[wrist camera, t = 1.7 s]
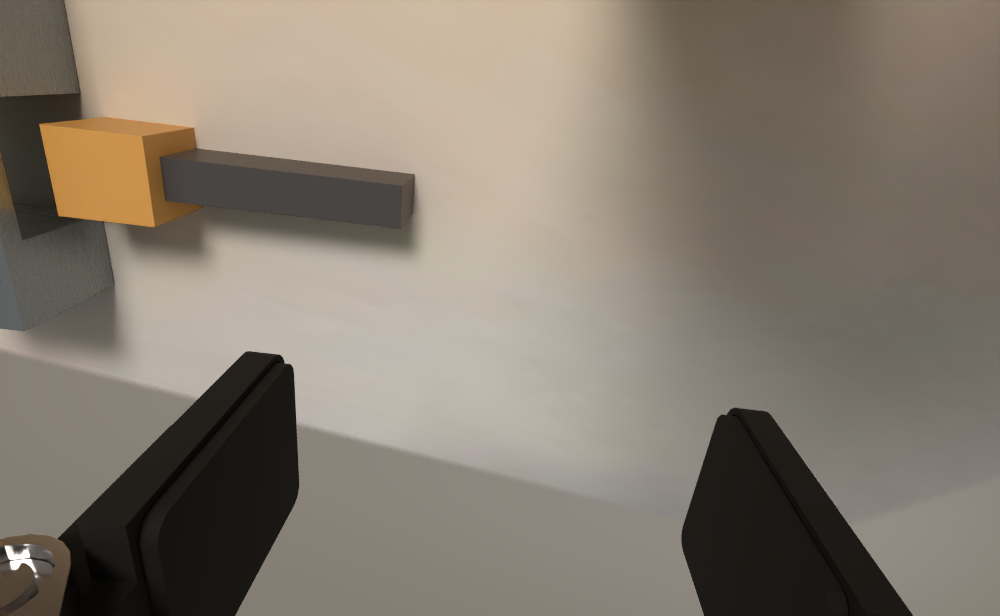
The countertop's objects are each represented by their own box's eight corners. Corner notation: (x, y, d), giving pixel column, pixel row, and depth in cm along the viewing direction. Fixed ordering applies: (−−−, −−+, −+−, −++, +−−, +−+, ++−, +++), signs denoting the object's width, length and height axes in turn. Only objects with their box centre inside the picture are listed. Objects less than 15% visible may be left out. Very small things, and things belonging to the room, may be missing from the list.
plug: (80, 114, 27) (11, 120, 24) (415, 153, 27) (398, 166, 24) (95, 194, 29) (32, 213, 25) (411, 232, 29) (395, 255, 25)
